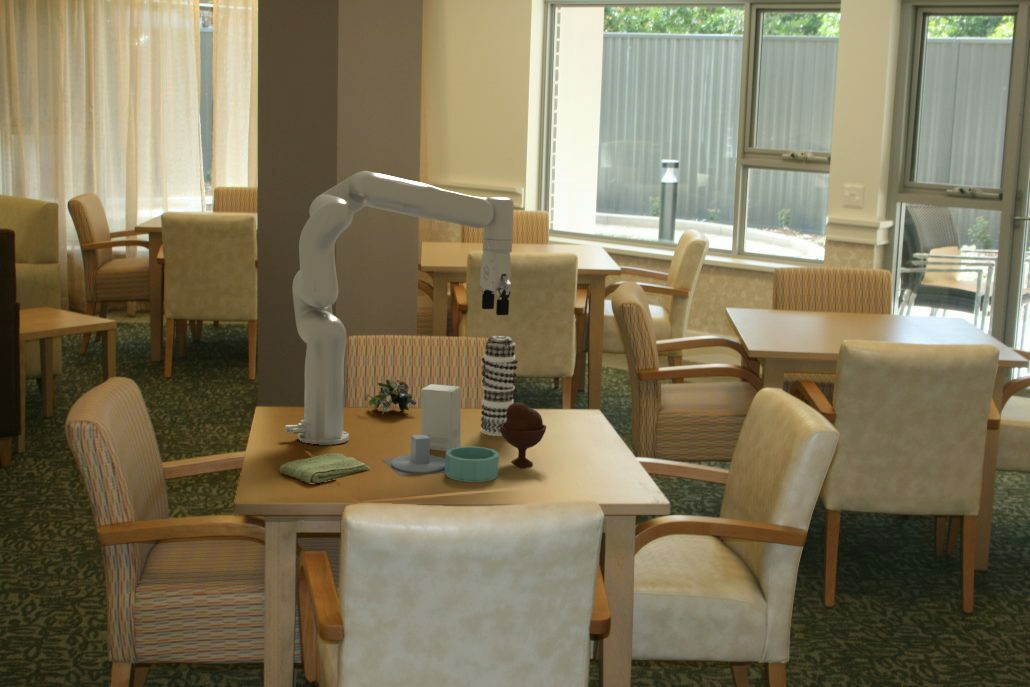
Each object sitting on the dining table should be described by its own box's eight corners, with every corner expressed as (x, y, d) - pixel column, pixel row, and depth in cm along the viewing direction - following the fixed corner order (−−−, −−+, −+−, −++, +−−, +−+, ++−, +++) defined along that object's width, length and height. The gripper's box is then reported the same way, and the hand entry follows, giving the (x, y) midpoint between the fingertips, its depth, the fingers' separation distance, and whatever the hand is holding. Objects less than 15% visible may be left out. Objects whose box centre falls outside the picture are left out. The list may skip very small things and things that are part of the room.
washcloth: (373, 473, 288) (373, 460, 288) (311, 488, 275) (311, 474, 275) (336, 461, 297) (337, 448, 296) (275, 475, 284) (275, 461, 283)
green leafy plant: (401, 430, 347) (426, 398, 344) (377, 430, 338) (402, 398, 334) (377, 402, 352) (402, 370, 348) (353, 401, 342) (378, 369, 339)
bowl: (456, 486, 280) (457, 462, 279) (438, 471, 290) (439, 448, 289) (505, 481, 284) (506, 458, 283) (486, 467, 295) (486, 444, 294)
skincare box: (460, 448, 311) (462, 386, 308) (450, 454, 305) (452, 391, 302) (429, 444, 314) (431, 382, 311) (418, 450, 308) (420, 387, 305)
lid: (401, 475, 284) (402, 445, 283) (384, 459, 296) (385, 431, 295) (455, 470, 289) (456, 442, 288) (436, 455, 301) (437, 428, 300)
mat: (400, 478, 284) (400, 475, 284) (381, 461, 296) (381, 459, 296) (458, 473, 289) (458, 471, 289) (438, 457, 302) (438, 455, 302)
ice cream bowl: (512, 473, 291) (515, 410, 289) (491, 460, 301) (493, 399, 298) (552, 468, 296) (555, 406, 293) (530, 456, 306) (532, 396, 303)
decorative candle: (508, 438, 322) (512, 341, 318) (474, 433, 325) (477, 338, 321) (519, 430, 331) (523, 336, 326) (486, 426, 334) (489, 332, 329)
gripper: (471, 242, 329) (469, 307, 332) (496, 249, 313) (494, 317, 316) (498, 241, 332) (495, 306, 335) (524, 249, 316) (521, 317, 319)
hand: (495, 311), depth 326 cm, fingers open, 9 cm apart
